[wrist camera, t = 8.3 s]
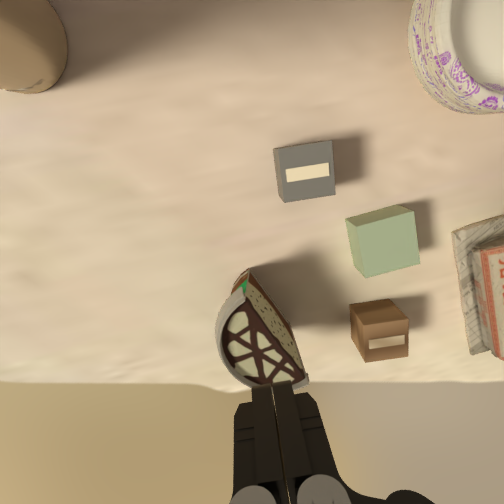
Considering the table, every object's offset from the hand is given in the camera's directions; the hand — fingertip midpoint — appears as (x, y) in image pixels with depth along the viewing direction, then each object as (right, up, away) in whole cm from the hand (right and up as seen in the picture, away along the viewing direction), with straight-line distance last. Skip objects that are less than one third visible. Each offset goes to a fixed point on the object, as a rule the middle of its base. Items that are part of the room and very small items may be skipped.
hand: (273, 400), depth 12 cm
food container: (-1, -1, +28) cm, 28 cm away
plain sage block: (+14, +8, +25) cm, 30 cm away
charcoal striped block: (+4, +15, +22) cm, 27 cm away
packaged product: (+30, +2, +28) cm, 41 cm away
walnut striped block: (+14, -3, +29) cm, 32 cm away
